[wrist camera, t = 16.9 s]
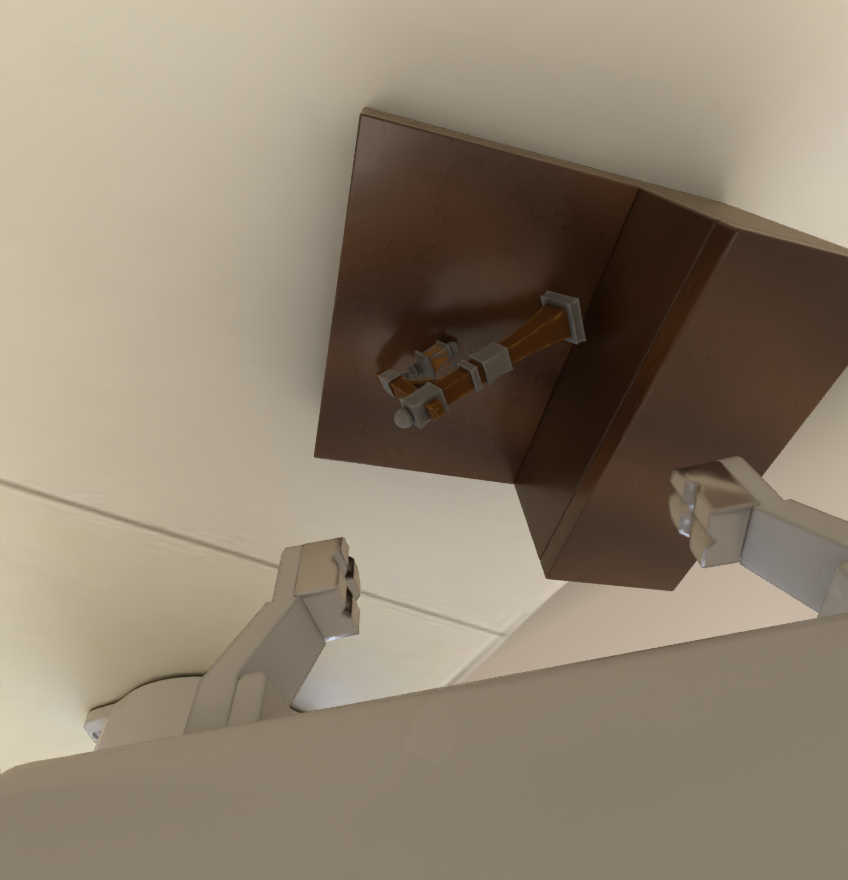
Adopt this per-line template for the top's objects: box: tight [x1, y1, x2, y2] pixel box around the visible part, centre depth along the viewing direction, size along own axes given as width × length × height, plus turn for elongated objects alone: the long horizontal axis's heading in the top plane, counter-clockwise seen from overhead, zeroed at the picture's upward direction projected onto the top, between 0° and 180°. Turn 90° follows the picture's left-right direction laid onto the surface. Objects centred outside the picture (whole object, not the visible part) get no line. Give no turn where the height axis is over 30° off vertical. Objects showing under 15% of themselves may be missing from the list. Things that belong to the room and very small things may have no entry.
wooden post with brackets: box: [375, 291, 586, 429], centre depth 20 cm, size 2×8×4 cm, turn 109°
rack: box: [314, 107, 848, 591], centre depth 21 cm, size 14×16×10 cm
